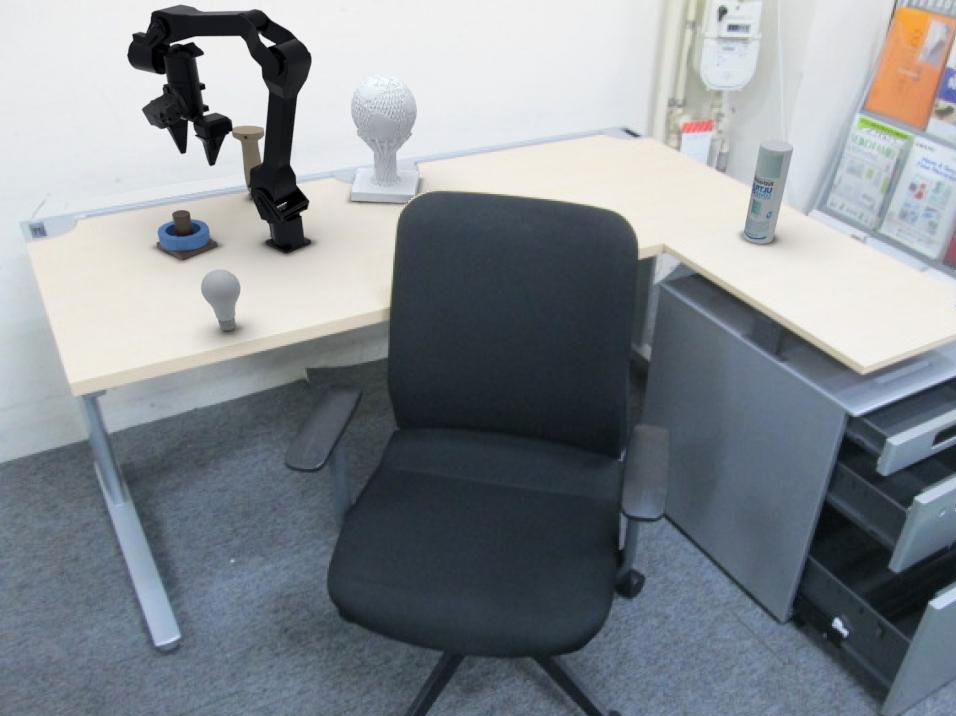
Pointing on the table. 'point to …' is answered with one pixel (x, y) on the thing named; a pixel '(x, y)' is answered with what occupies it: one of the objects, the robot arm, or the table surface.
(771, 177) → the spray can
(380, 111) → the trophy
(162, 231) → the tape
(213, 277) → the lightbulb
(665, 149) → the table surface
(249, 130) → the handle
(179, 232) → the peg stand
